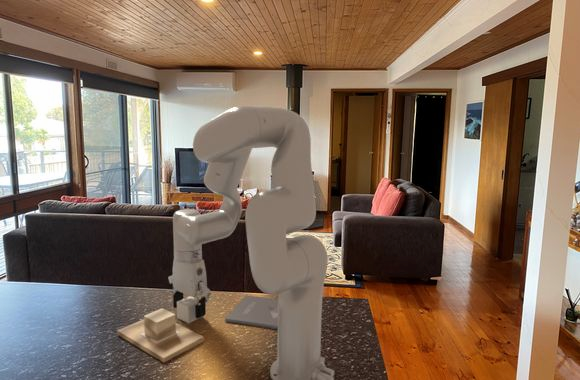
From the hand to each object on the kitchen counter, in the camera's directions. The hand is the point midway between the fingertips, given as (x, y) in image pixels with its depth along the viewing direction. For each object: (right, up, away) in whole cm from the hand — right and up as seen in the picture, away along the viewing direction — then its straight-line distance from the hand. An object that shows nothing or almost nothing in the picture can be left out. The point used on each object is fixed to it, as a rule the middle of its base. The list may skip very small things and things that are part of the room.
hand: (189, 311), depth 115 cm
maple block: (-5, -2, -11) cm, 12 cm away
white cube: (0, -2, 0) cm, 2 cm away
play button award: (+22, -2, +3) cm, 23 cm away
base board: (-5, -4, -11) cm, 13 cm away
